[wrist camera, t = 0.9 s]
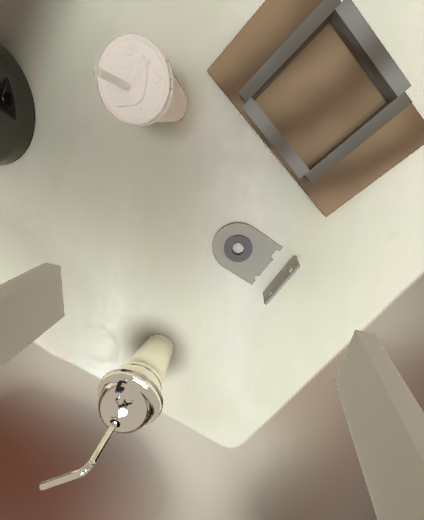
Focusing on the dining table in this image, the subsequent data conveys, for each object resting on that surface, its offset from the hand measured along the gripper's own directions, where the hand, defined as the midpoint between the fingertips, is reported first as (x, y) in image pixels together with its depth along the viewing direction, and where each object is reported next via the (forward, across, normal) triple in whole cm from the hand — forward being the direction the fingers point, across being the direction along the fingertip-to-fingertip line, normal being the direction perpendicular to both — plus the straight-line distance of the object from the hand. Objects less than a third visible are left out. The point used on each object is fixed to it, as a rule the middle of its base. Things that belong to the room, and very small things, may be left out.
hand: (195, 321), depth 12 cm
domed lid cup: (+23, -9, -23) cm, 34 cm away
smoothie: (+24, -10, +11) cm, 28 cm away
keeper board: (+23, +6, +13) cm, 27 cm away
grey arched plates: (+24, +3, -5) cm, 25 cm away
